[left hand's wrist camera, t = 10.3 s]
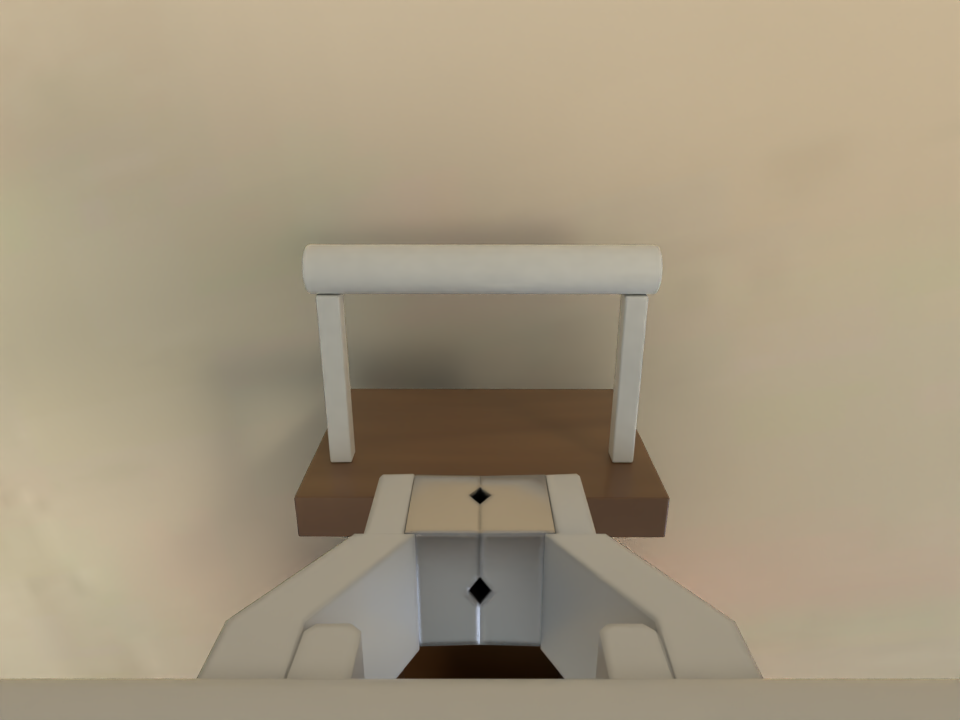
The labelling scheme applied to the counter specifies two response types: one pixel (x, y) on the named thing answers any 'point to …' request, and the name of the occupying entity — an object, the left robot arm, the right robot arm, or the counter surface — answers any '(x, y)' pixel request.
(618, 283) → the drawer
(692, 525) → the counter surface
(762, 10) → the counter surface
